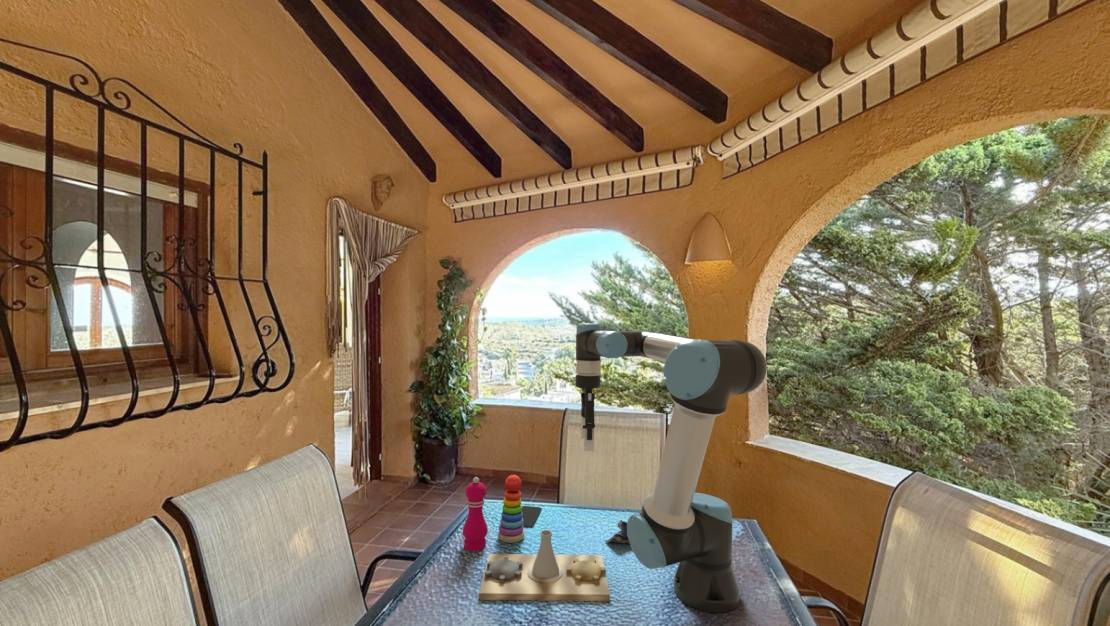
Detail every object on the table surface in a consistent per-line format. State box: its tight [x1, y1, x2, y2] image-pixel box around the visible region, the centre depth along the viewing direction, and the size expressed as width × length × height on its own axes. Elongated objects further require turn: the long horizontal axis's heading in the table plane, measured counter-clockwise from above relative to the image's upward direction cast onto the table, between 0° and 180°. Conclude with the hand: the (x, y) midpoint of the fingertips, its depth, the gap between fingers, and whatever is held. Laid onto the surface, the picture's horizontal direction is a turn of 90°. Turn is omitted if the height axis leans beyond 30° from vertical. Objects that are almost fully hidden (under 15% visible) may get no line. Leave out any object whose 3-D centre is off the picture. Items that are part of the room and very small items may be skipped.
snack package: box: [605, 519, 630, 544], centre depth 137 cm, size 12×6×12 cm
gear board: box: [478, 553, 611, 602], centre depth 116 cm, size 31×18×3 cm, turn 90°
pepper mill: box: [462, 476, 489, 552], centre depth 133 cm, size 7×7×20 cm
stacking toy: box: [497, 474, 525, 544], centre depth 138 cm, size 8×8×19 cm
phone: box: [522, 505, 543, 529], centre depth 153 cm, size 7×1×15 cm
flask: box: [532, 529, 559, 578], centre depth 116 cm, size 7×7×10 cm
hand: (587, 444), depth 138 cm, fingers open, 13 cm apart
